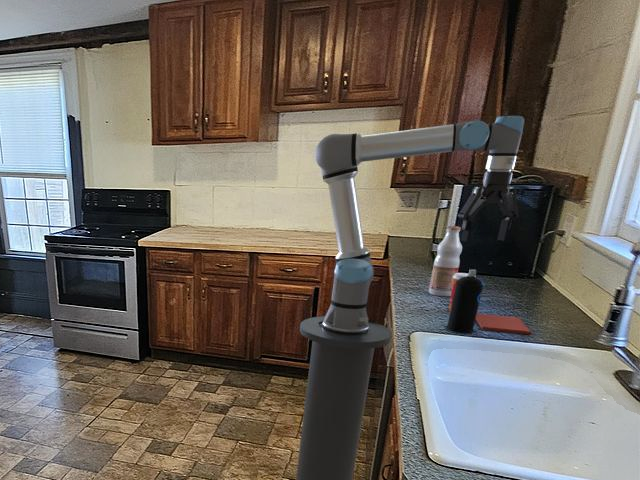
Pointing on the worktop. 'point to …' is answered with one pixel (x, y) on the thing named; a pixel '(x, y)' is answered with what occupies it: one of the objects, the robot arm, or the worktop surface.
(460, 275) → the paper cup
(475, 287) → the aerosol can
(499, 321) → the pad
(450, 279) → the fruit juice
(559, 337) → the worktop surface
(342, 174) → the robot arm
